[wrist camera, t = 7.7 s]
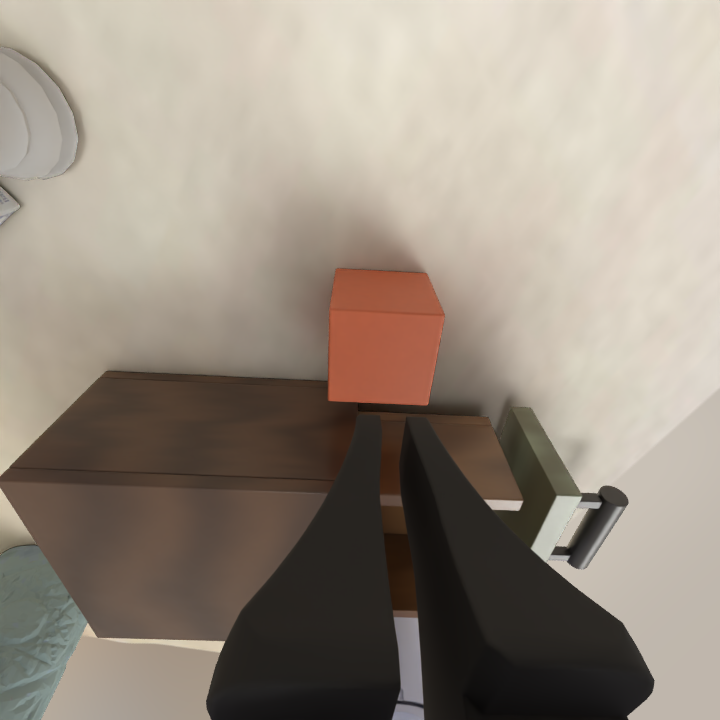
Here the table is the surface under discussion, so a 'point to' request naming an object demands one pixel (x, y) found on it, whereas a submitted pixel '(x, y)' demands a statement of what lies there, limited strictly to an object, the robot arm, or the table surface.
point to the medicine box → (6, 205)
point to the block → (383, 337)
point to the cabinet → (178, 495)
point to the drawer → (497, 492)
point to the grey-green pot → (33, 632)
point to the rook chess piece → (33, 121)
